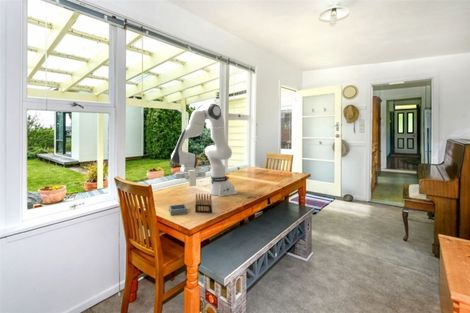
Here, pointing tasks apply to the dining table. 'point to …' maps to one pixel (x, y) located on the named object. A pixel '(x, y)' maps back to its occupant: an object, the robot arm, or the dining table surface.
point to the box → (178, 209)
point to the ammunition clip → (203, 204)
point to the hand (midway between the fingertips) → (192, 176)
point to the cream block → (192, 177)
